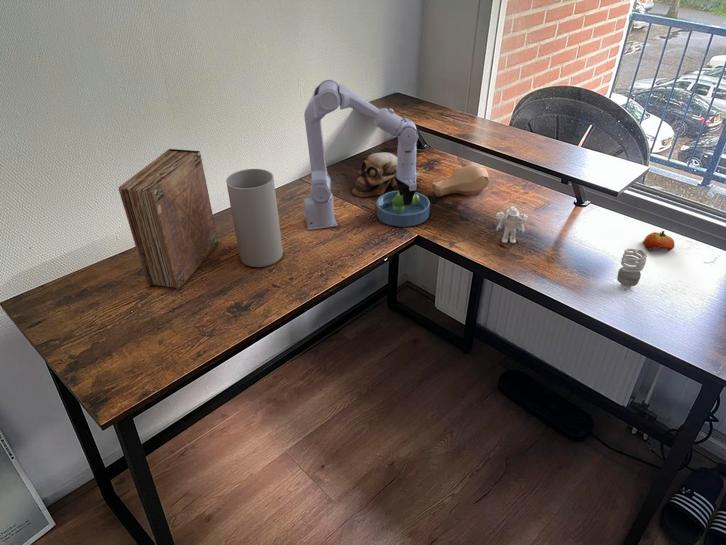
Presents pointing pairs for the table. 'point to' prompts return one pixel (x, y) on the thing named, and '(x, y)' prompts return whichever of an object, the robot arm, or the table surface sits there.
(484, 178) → the squash
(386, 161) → the coin bank
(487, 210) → the table surface
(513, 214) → the hat wearing toy figure
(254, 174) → the cylinder vase
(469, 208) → the table surface
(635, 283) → the light bulb
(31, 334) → the table surface
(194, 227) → the book
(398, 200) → the green zucchini
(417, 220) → the bowl
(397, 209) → the pale zucchini
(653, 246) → the tomato
